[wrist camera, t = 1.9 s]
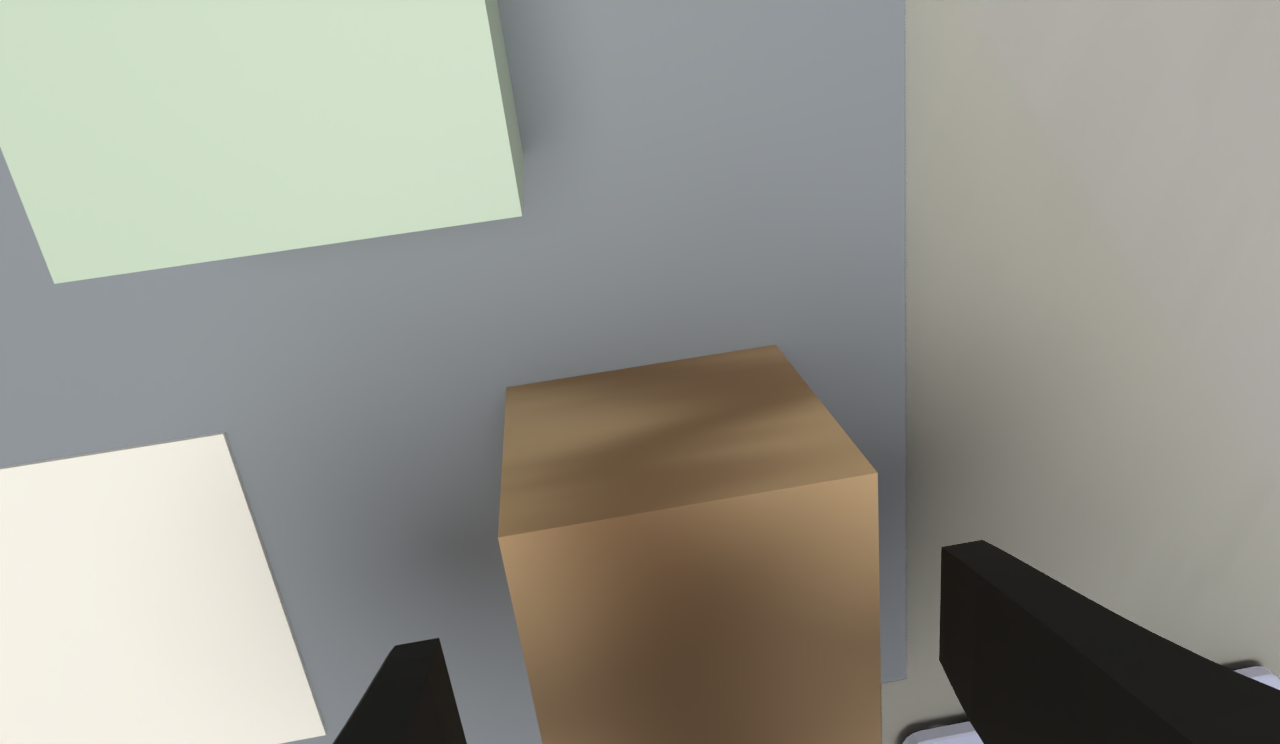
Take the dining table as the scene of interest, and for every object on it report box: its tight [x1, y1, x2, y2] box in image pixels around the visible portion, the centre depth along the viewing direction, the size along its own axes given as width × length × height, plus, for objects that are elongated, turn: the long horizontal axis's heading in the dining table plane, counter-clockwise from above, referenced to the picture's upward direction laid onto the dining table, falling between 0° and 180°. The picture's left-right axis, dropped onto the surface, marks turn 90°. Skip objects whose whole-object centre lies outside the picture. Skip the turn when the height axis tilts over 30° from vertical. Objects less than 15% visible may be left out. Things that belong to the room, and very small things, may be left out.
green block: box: [0, 0, 523, 284], centre depth 11 cm, size 5×5×5 cm
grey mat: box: [0, 0, 906, 744], centre depth 15 cm, size 22×18×1 cm
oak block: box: [498, 345, 882, 744], centre depth 14 cm, size 5×5×5 cm
